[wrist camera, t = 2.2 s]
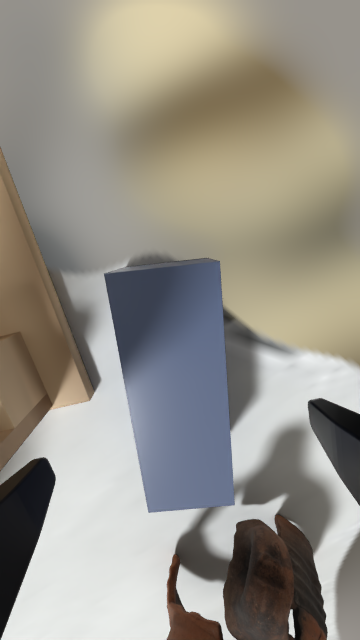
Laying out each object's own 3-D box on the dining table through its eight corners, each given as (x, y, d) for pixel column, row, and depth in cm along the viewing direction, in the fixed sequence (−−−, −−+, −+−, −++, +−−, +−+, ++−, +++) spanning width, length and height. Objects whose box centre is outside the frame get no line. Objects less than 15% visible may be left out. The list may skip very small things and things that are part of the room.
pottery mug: (311, 580, 19) (307, 783, 13) (198, 521, 23) (152, 655, 17) (355, 506, 13) (388, 821, 7) (191, 442, 17) (116, 606, 11)
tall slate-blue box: (220, 440, 15) (234, 505, 11) (155, 446, 15) (148, 512, 11) (206, 257, 12) (219, 261, 8) (127, 266, 12) (104, 273, 9)
